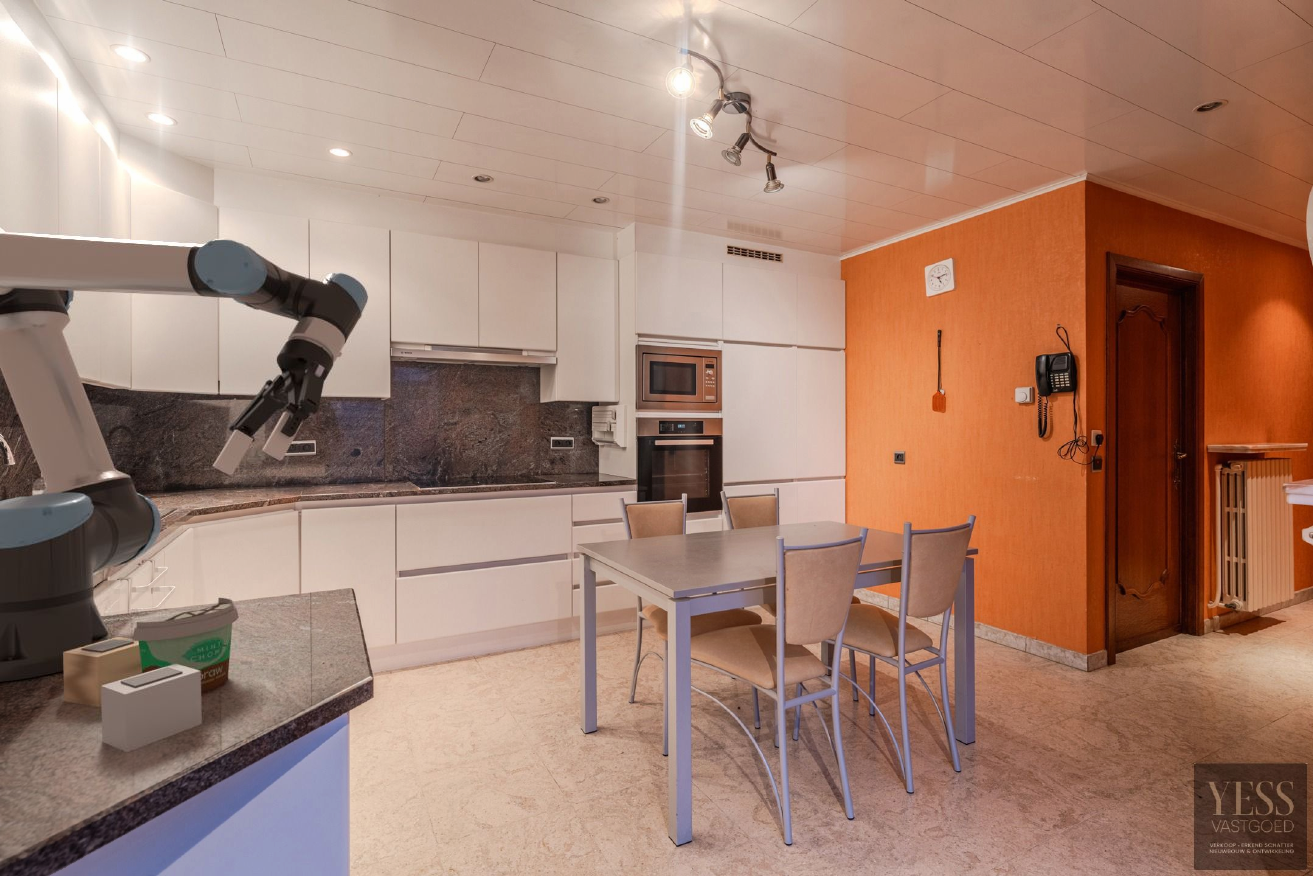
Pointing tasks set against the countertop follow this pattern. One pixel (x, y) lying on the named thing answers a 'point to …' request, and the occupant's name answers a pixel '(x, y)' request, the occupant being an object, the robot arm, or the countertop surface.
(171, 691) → the grey painted block
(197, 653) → the food container
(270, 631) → the countertop surface
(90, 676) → the oak block
